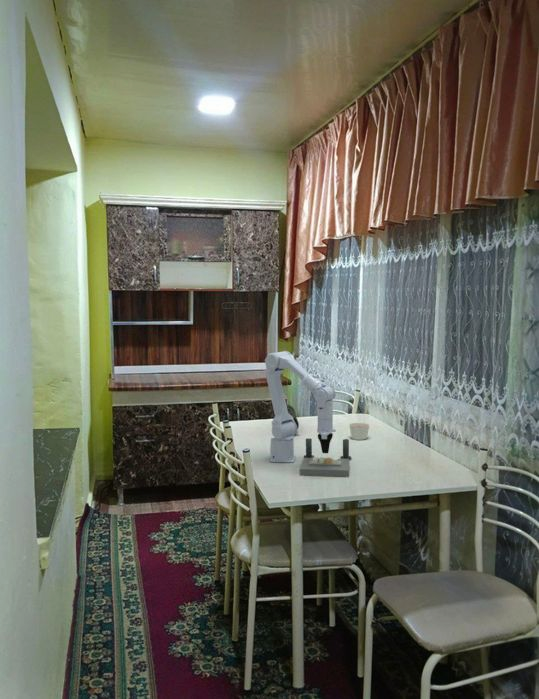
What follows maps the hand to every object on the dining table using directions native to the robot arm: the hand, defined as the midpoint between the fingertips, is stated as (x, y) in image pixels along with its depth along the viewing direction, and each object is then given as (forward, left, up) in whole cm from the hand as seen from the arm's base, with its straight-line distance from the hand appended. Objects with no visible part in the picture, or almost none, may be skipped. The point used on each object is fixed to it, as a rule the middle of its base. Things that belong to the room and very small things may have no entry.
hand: (325, 452), depth 222 cm
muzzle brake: (-22, +61, -7) cm, 65 cm away
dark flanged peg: (+7, +14, -6) cm, 17 cm away
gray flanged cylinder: (-8, +14, -6) cm, 17 cm away
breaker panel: (0, -1, -6) cm, 7 cm away
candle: (+13, +47, -7) cm, 49 cm away
